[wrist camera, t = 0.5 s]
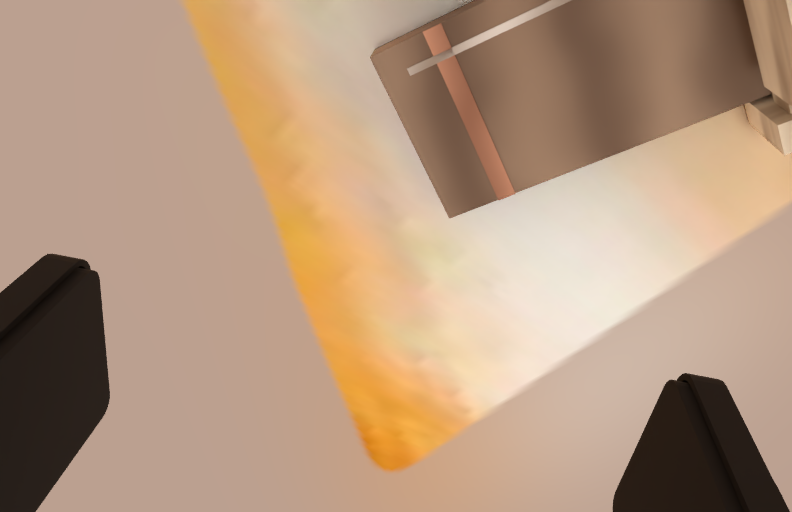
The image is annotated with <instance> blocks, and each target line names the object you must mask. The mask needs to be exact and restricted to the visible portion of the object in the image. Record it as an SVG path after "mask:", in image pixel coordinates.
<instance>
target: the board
mask: <svg viewBox="0 0 792 512" xmlns="http://www.w3.org/2000/svg"><path fill="white" fill-rule="evenodd" d="M370 58H371V60H372V63H373V65H374V67H375V69H376V71H377V73H378V75H379V77H380V79H381V81H382V83H383V85H384V87H385V89H386V91H387V93H388V95H389V97H390V99H391V101H392V103H393V105H394V107H395V109H396V111H397V113H398V115H399V117H400V119H401V121H402V123H403V125H404V127H405V129H406V131H407V133H408V135H409V137H410V140H411V142H412V144H413V146H414V148H415V150H416V152H417V154H418V156H419V158H420V160H421V162H422V164H423V166H424V168H425V170H426V172H427V174H428V176H429V178H430V180H431V182H432V184H433V186H434V188H435V190H436V192H437V194H438V196H439V198H440V200H441V202H442V204H443V206H444V208H445V210H446V212H447V214H448V217H449V218H452V217H455V216H457V215H460V214H462V213H465V212H467V211H470V210H473V209H475V208H478V207H480V206H483V205H486V204H488V203H491V202H493V201H496V200H500V199H503V198H506V197H508V196H511V195H513V194H515V193H517V192H519V191H522V190H524V189H527V188H529V187H532V186H535V185H537V184H540V183H542V182H545V181H548V180H550V179H553V178H555V177H558V176H560V175H563V174H566V173H568V172H571V171H573V170H576V169H579V168H581V167H584V166H586V165H589V164H591V163H594V162H597V161H599V160H602V159H604V158H607V157H610V156H612V155H615V154H617V153H620V152H622V151H625V150H628V149H630V148H633V147H635V146H638V145H640V144H643V143H646V142H648V141H651V140H653V139H656V138H659V137H661V136H664V135H666V134H669V133H671V132H674V131H677V130H679V129H682V128H684V127H687V126H690V125H692V124H695V123H697V122H700V121H702V120H705V119H708V118H710V117H713V116H715V115H718V114H721V113H723V112H726V111H728V110H731V109H733V108H736V107H739V106H741V105H744V104H746V103H749V102H752V101H754V100H757V99H759V98H762V97H764V96H767V95H770V94H772V92H771V91H770V90H768V89H767V88H766V87H764V84H763V80H762V76H761V71H760V67H759V63H758V59H757V55H756V51H755V46H754V42H753V38H752V34H751V30H750V26H749V21H748V17H747V13H746V9H745V5H744V1H743V0H474V1H472V2H470V3H468V4H466V5H464V6H462V7H460V8H458V9H456V10H454V11H452V12H450V13H448V14H446V15H444V16H442V17H440V18H438V19H436V20H434V21H431V22H429V23H427V24H425V25H423V26H421V27H419V28H417V29H415V30H413V31H411V32H409V33H407V34H405V35H403V36H401V37H399V38H397V39H395V40H393V41H391V42H389V43H387V44H385V45H383V46H381V47H379V48H377V49H375V50H374V52H373V54H372V55H371V57H370Z"/></svg>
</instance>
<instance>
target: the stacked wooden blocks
mask: <svg viewBox="0 0 792 512" xmlns="http://www.w3.org/2000/svg"><path fill="white" fill-rule="evenodd" d="M743 1H744V5H745V9H746V13H747V17H748V21H749V26H750V30H751V34H752V38H753V42H754V46H755V51H756V55H757V59H758V63H759V67H760V71H761V76H762V80H763V84H764V87H766V88H767V89H768V90H770V91H771V92H772V94H770V95H767V96H764V97H762V98H759V99H757V100H754V101H752V102H749V103H746V104H744V105H745V109H746V113H747V117H748V121H749V124H750V125H751V126H752V127H753V128H754V129H756V130H757V131H758V132H759V133H760V134H761V135H762V136H763V137H765V138H766V139H767V140H768V141H769V142H770V143H771V144H772V145H773V146H775V147H776V148H777V149H778V150H779V151H780V152H781V153H782V154H784V155H788V154H790V153H792V0H743Z"/></svg>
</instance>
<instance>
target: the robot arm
mask: <svg viewBox="0 0 792 512" xmlns="http://www.w3.org/2000/svg"><path fill="white" fill-rule="evenodd" d="M109 398H110V391H109V380H108V369H107V357H106V346H105V335H104V323H103V312H102V301H101V291H100V279H99V275H98V273H97V272H96V271H93V270H91V269H90V266H89V264H88V262H87V261H85V260H83V259H78V258H72V257H67V256H61V255H56V254H47V255H45V256H44V257H42V258H41V259H40V260H39V261H37V262H36V263H35V264H34V265H33V266H31V267H30V268H29V269H28V270H27V271H26V272H24V273H23V274H22V275H21V276H20V277H18V278H17V279H16V280H15V281H14V282H13V283H11V284H10V285H9V286H8V287H7V288H5V289H4V290H3V291H2V292H1V293H0V512H36V510H37V509H38V507H39V506H40V505H41V503H42V502H43V500H44V499H45V497H46V496H47V495H48V493H49V492H50V490H51V489H52V488H53V486H54V485H55V484H56V482H57V481H58V479H59V478H60V476H61V475H62V474H63V472H64V471H65V470H66V468H67V467H68V465H69V464H70V462H71V461H72V460H73V458H74V457H75V455H76V454H77V453H78V451H79V450H80V448H81V447H82V445H83V444H84V443H85V441H86V440H87V439H88V437H89V436H90V434H91V433H92V432H93V430H94V429H95V427H96V426H97V424H98V423H99V422H100V420H101V419H102V417H103V416H104V414H105V412H106V410H107V407H108V404H109ZM613 512H790V511H789V509H788V507H787V505H786V503H785V501H784V499H783V497H782V495H781V493H780V492H779V489H778V487H777V485H776V484H775V482H774V481H773V479H772V477H771V475H770V473H769V471H768V469H767V467H766V465H765V463H764V461H763V459H762V457H761V455H760V453H759V451H758V449H757V446H756V444H755V442H754V441H753V438H752V436H751V434H750V432H749V430H748V428H747V426H746V424H745V423H744V420H743V418H742V417H741V415H740V412H739V410H738V408H737V406H736V404H735V402H734V400H733V398H732V396H731V394H730V392H729V390H728V388H727V386H726V385H725V384H724V382H723V381H721V380H719V379H714V378H709V377H703V376H698V375H693V374H687V373H685V374H682V375H681V376H680V377H679V378H678V379H677V381H676V380H669V381H668V382H667V383H666V384H665V386H664V388H663V390H662V392H661V394H660V397H659V399H658V401H657V403H656V405H655V407H654V410H653V412H652V414H651V416H650V418H649V420H648V423H647V425H646V427H645V429H644V431H643V433H642V436H641V438H640V440H639V442H638V444H637V446H636V448H635V451H634V453H633V455H632V457H631V459H630V461H629V464H628V466H627V468H626V470H625V472H624V475H623V477H622V479H621V481H620V483H619V485H618V488H617V490H616V492H615V495H614V500H613Z"/></svg>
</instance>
